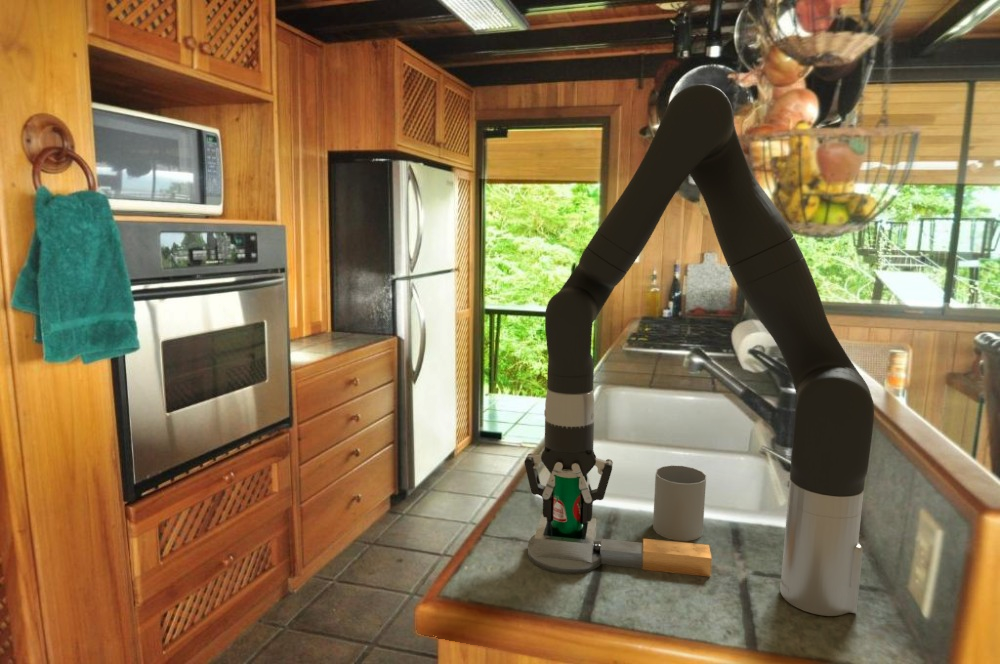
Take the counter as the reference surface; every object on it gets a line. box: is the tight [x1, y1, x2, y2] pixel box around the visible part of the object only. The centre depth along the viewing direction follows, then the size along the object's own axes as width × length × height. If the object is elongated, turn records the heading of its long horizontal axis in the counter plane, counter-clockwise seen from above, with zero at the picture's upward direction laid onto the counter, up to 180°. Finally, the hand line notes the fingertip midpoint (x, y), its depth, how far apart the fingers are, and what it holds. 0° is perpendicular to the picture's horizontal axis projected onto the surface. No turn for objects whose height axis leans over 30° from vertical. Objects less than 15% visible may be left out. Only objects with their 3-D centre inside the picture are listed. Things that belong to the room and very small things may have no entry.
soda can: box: [551, 469, 585, 539], centre depth 107 cm, size 5×5×12 cm
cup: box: [652, 464, 707, 542], centre depth 117 cm, size 8×8×10 cm
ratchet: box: [527, 512, 713, 577], centre depth 107 cm, size 28×12×4 cm, turn 78°
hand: (567, 520), depth 108 cm, fingers closed on soda can, 5 cm apart
